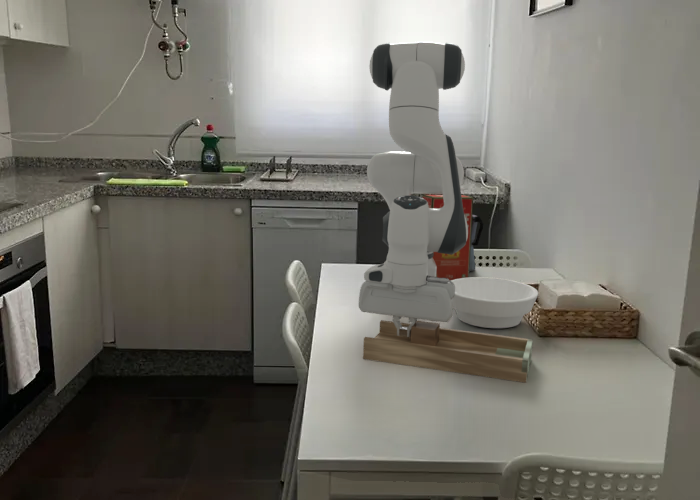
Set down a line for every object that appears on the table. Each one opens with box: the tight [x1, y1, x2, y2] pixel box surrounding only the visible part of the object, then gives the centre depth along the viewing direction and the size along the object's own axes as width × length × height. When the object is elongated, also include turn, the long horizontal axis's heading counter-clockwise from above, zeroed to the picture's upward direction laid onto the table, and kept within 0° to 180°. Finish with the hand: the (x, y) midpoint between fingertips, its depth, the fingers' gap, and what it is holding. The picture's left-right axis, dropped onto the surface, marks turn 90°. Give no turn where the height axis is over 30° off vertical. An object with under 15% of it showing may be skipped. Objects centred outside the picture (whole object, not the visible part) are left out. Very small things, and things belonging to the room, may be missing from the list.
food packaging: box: [421, 194, 474, 281], centre depth 210 cm, size 13×9×25 cm
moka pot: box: [469, 214, 484, 272], centre depth 223 cm, size 10×15×20 cm, turn 40°
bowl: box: [448, 276, 539, 329], centre depth 173 cm, size 22×22×8 cm
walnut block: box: [411, 320, 441, 346], centre depth 150 cm, size 5×5×4 cm
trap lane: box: [362, 319, 534, 383], centre depth 147 cm, size 13×33×4 cm, turn 72°
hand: (404, 335), depth 152 cm, fingers closed
